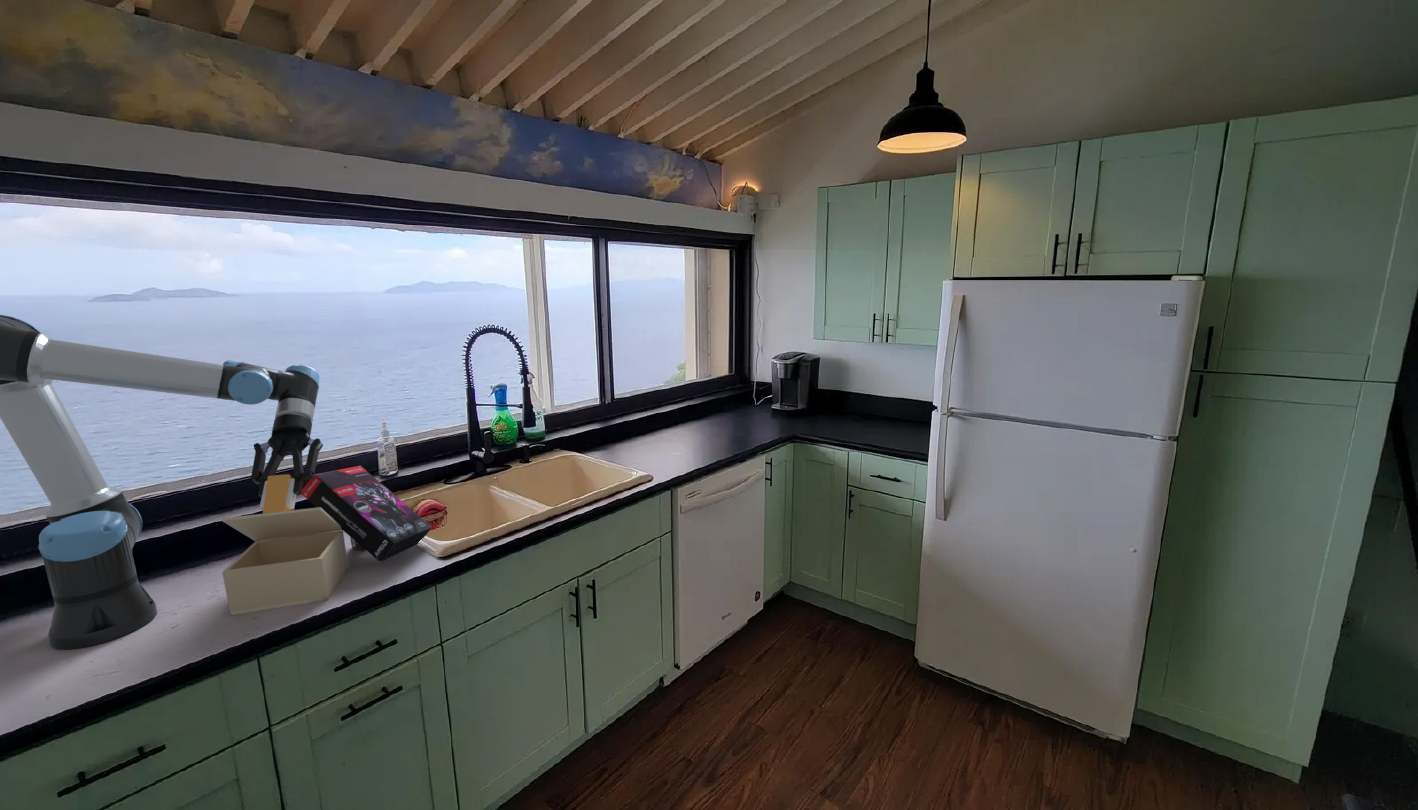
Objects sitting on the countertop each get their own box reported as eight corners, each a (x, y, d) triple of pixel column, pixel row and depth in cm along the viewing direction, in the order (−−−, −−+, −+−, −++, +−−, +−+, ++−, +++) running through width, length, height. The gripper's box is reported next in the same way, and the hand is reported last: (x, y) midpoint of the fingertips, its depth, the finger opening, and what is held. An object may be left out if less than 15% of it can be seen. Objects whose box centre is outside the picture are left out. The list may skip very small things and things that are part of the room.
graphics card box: (394, 544, 135) (313, 470, 136) (377, 565, 135) (296, 491, 137) (434, 528, 152) (361, 462, 153) (418, 546, 152) (346, 481, 154)
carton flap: (221, 520, 118) (229, 478, 122) (255, 541, 132) (260, 502, 136) (320, 509, 124) (324, 469, 128) (342, 530, 137) (345, 493, 142)
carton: (230, 615, 119) (222, 572, 117) (262, 580, 134) (255, 541, 132) (328, 599, 124) (321, 558, 123) (348, 568, 139) (342, 530, 137)
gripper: (338, 426, 142) (327, 510, 129) (258, 432, 136) (238, 520, 124) (329, 409, 136) (316, 496, 123) (244, 415, 130) (222, 506, 118)
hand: (277, 508), depth 124 cm, fingers closed on carton flap, 4 cm apart
